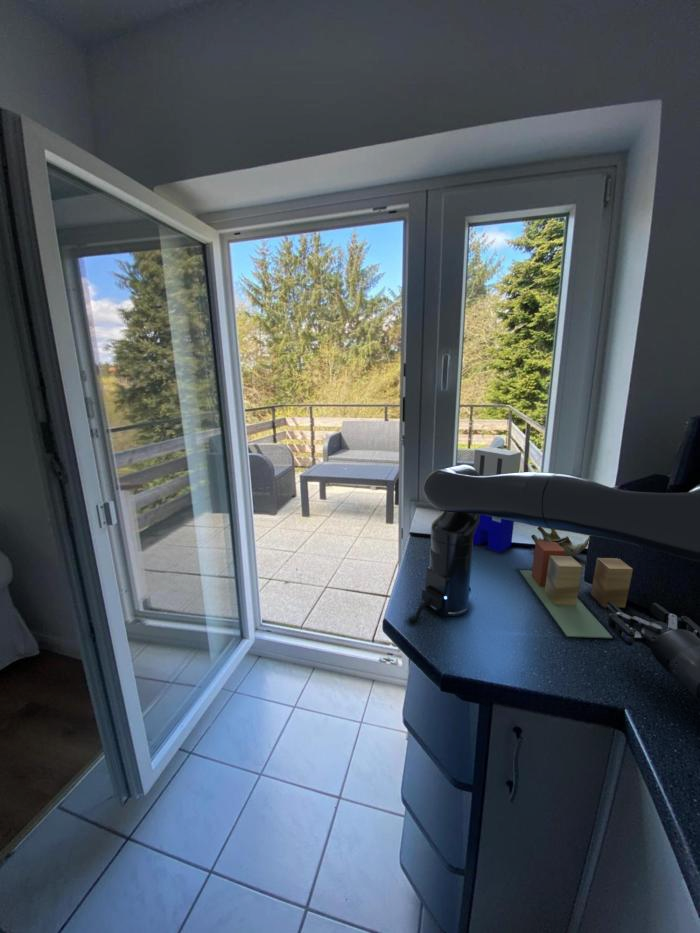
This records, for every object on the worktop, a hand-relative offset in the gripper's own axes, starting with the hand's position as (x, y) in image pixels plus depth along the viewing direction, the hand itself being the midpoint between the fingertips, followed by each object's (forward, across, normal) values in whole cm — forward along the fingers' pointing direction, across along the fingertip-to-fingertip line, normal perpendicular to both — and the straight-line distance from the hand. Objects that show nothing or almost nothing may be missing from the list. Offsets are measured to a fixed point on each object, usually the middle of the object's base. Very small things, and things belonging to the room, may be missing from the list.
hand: (630, 605), depth 76 cm
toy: (+41, +16, +6) cm, 44 cm away
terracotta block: (+19, +8, +6) cm, 21 cm away
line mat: (+11, +8, +6) cm, 15 cm away
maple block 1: (+11, +8, +6) cm, 15 cm away
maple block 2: (+11, -3, +6) cm, 13 cm away
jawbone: (+35, -3, +7) cm, 36 cm away
